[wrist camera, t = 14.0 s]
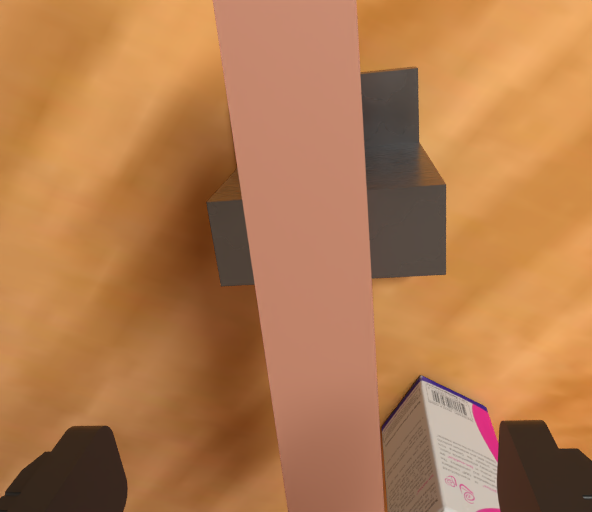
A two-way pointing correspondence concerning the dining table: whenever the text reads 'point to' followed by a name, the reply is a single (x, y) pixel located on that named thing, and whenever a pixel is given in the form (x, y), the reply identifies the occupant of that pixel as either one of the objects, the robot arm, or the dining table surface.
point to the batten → (308, 239)
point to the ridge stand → (380, 191)
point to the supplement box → (440, 453)
